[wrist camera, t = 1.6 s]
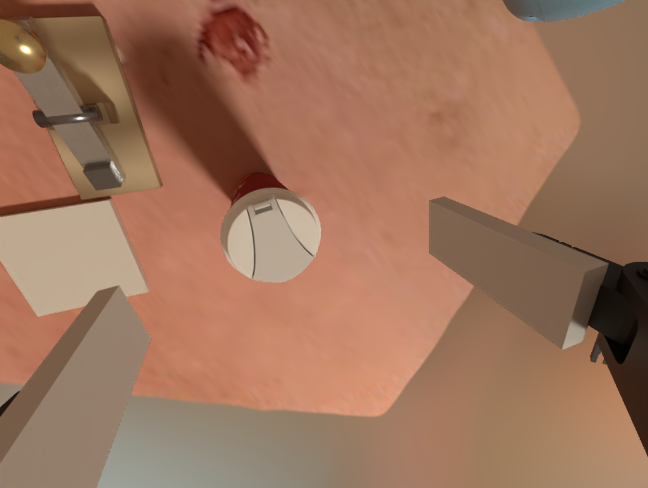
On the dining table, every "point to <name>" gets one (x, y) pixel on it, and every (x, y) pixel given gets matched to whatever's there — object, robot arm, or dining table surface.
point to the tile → (69, 255)
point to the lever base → (101, 101)
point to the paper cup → (269, 230)
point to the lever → (58, 100)
